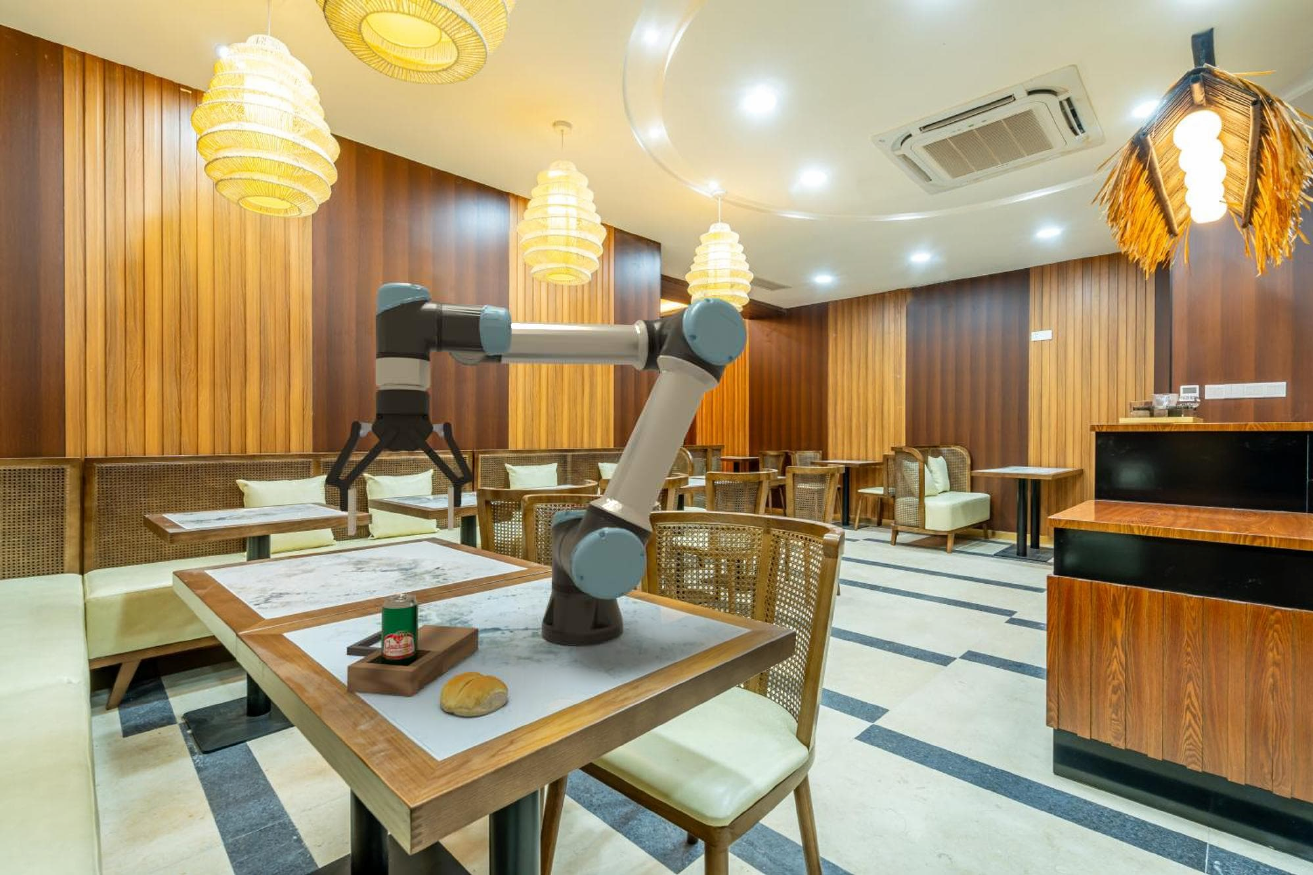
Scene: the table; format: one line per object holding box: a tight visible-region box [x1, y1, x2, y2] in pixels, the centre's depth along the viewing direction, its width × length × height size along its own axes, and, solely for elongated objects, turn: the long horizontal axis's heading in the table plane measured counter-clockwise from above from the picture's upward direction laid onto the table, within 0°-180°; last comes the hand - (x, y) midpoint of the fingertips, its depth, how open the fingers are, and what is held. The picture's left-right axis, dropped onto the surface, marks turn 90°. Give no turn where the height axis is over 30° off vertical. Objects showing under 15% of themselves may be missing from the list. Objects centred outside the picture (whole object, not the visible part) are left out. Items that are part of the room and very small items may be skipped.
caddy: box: [346, 624, 479, 698], centre depth 95 cm, size 10×20×4 cm, turn 170°
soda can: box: [380, 593, 419, 666], centre depth 90 cm, size 5×5×12 cm
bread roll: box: [439, 671, 509, 718], centre depth 83 cm, size 8×9×4 cm
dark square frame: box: [346, 630, 381, 657], centre depth 104 cm, size 9×9×1 cm
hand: (402, 531), depth 90 cm, fingers open, 13 cm apart
